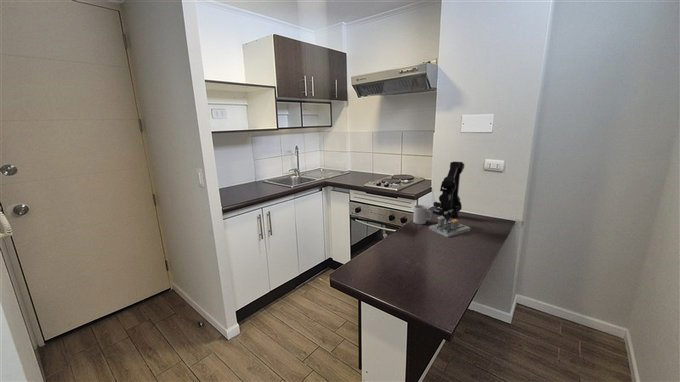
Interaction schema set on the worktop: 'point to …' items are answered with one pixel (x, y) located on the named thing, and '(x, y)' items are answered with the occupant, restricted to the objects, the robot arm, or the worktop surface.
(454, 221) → the orange fader
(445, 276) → the worktop surface
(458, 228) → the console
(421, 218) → the mug
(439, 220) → the cream fader
